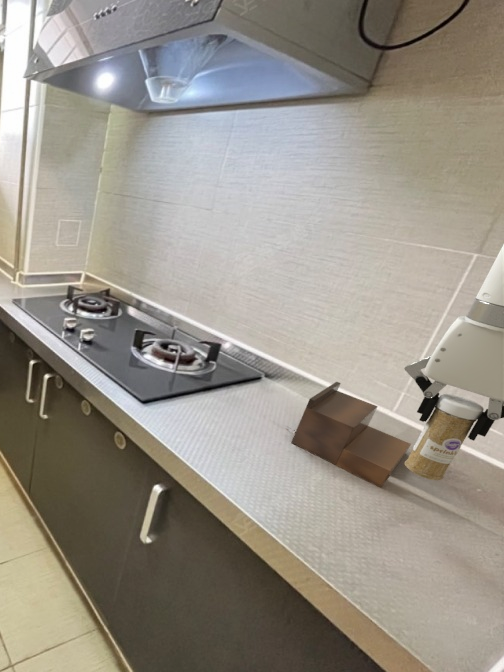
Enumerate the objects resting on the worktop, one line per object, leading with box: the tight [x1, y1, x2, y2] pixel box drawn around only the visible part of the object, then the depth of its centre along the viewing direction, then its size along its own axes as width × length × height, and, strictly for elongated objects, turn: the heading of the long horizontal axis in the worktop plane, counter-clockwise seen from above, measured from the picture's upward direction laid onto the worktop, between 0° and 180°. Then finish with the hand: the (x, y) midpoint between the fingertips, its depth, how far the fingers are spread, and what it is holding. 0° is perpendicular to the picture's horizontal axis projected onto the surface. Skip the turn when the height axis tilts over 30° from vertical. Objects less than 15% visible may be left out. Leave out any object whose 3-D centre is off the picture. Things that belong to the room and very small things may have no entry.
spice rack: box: [290, 381, 412, 489], centre depth 81 cm, size 15×16×11 cm
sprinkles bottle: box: [404, 393, 485, 481], centre depth 61 cm, size 5×5×13 cm
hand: (447, 426), depth 61 cm, fingers closed on sprinkles bottle, 4 cm apart
